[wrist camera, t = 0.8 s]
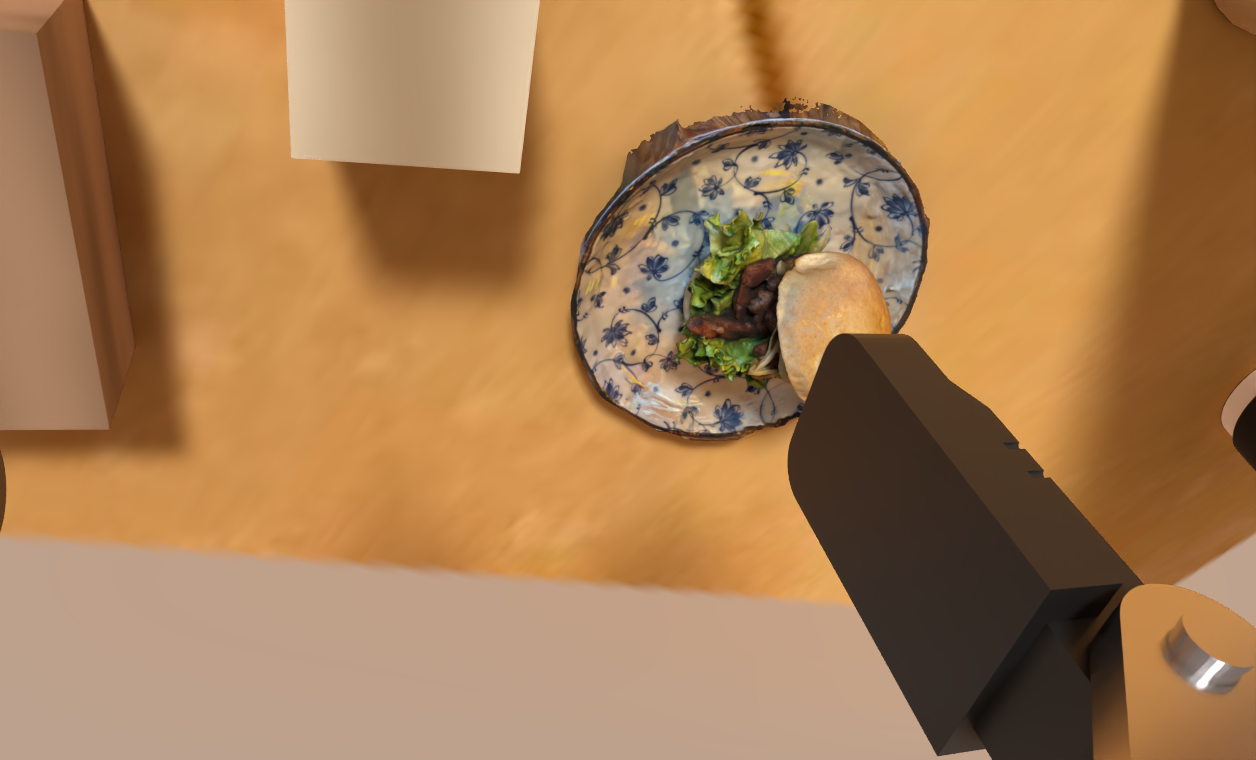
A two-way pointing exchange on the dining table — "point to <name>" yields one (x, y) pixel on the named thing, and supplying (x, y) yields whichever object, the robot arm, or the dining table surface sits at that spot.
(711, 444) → the dining table surface
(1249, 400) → the dixie cup
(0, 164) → the walnut block
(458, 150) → the oak block
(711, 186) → the burger
